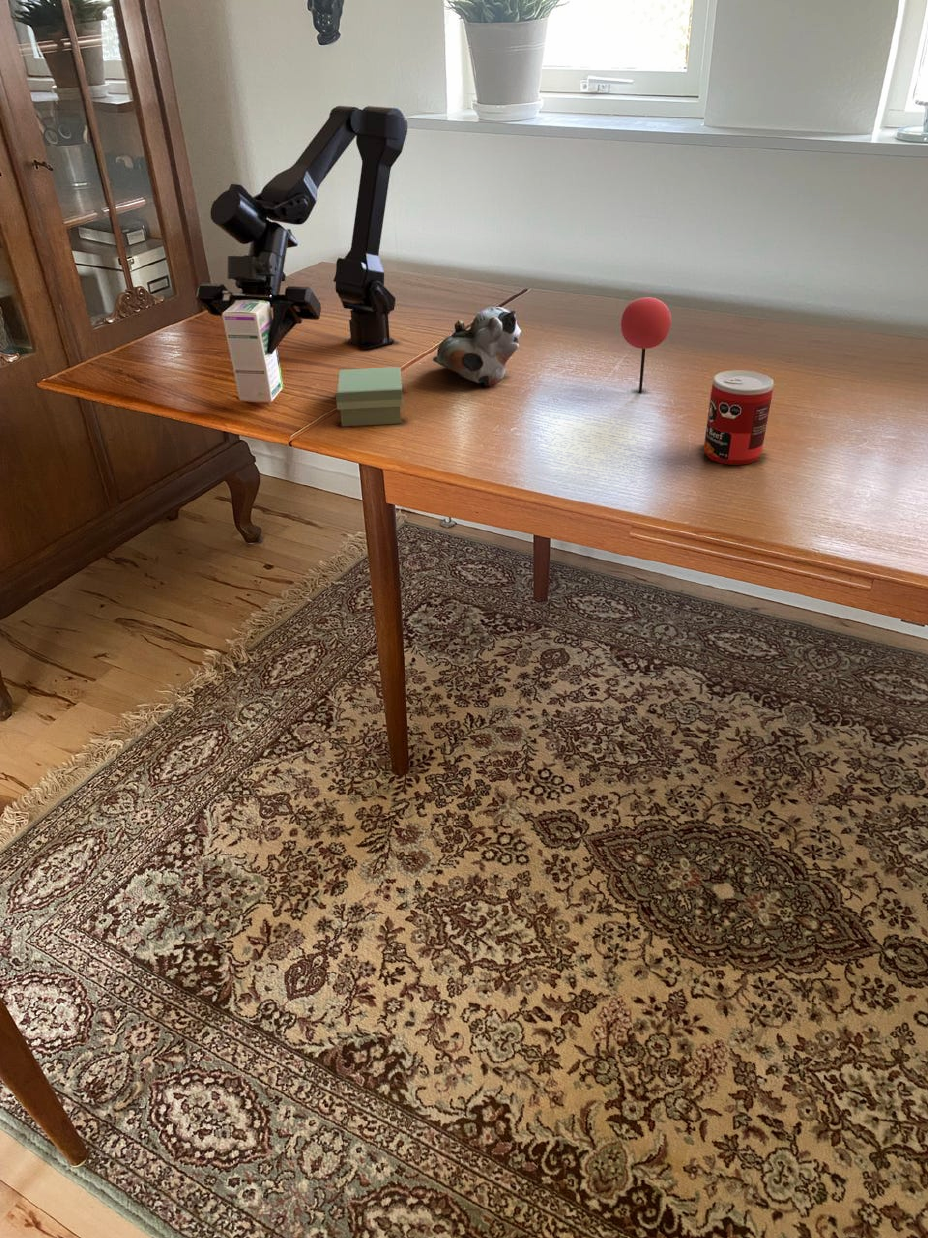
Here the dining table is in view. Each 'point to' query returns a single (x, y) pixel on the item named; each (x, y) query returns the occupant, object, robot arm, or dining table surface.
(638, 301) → the lollipop
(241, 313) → the syrup box
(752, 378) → the canned food
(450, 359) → the lucky cat figurine
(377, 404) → the green lidded box
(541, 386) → the dining table surface
